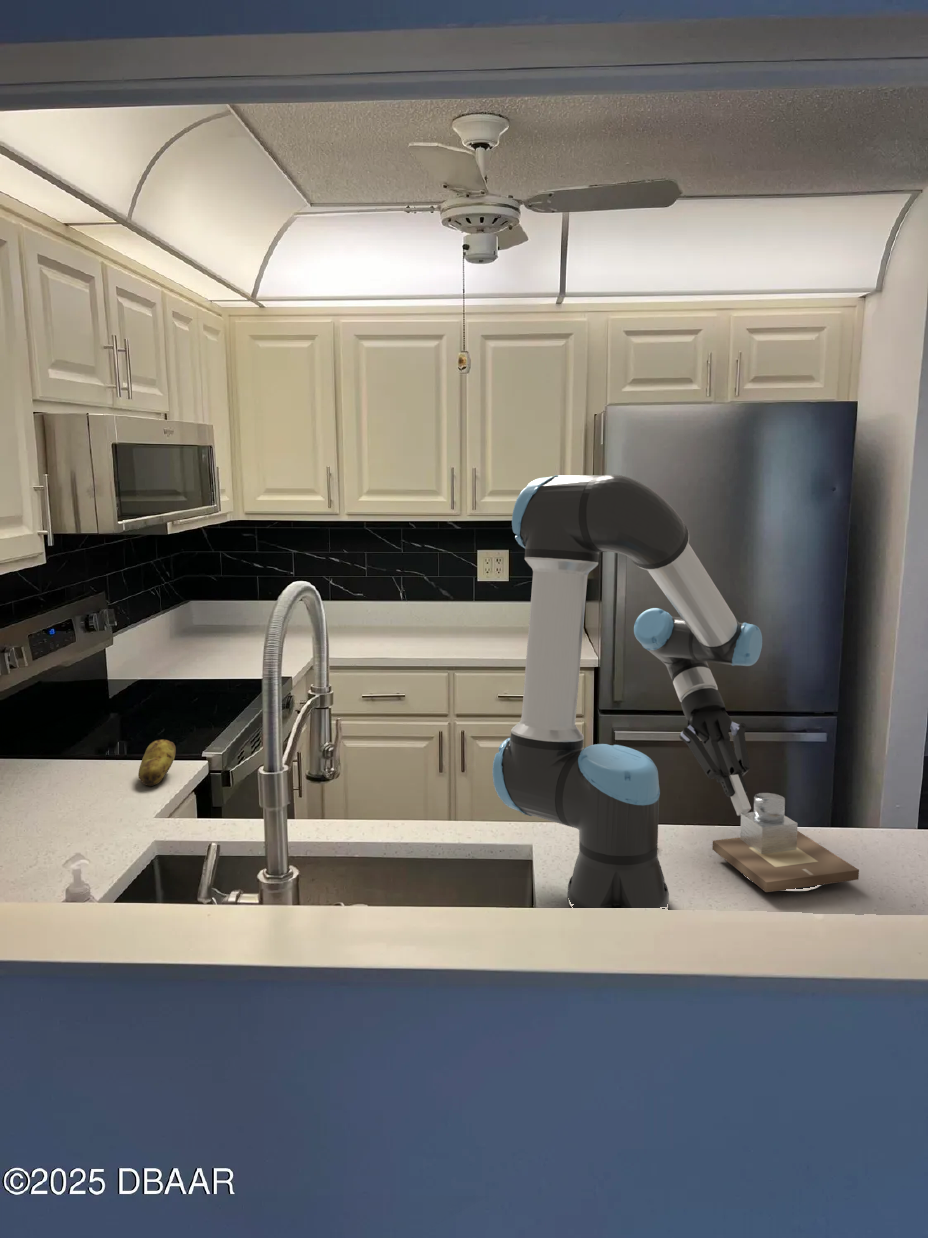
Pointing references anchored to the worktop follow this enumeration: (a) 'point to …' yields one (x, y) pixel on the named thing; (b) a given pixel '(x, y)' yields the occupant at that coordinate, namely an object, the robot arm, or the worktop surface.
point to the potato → (156, 762)
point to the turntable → (786, 864)
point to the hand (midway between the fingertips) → (744, 812)
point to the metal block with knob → (768, 825)
